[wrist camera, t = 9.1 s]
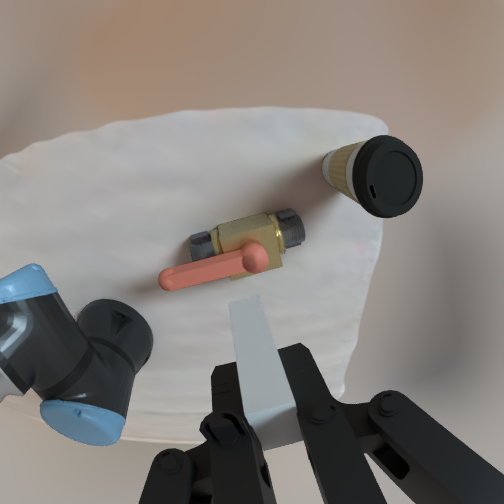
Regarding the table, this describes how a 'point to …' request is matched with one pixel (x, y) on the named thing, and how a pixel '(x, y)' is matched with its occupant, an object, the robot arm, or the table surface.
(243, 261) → the lever
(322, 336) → the table surface
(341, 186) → the coffee cup
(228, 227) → the pipe run
